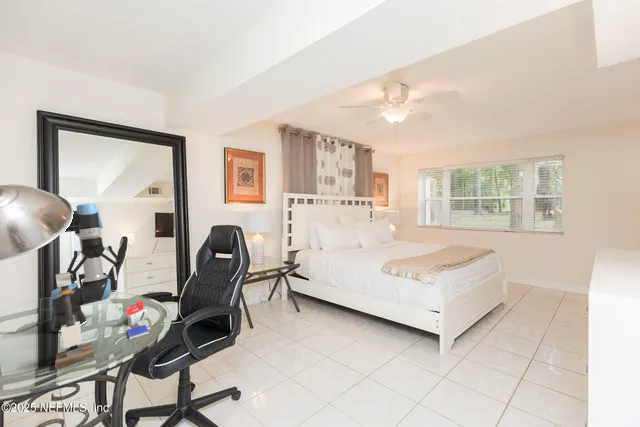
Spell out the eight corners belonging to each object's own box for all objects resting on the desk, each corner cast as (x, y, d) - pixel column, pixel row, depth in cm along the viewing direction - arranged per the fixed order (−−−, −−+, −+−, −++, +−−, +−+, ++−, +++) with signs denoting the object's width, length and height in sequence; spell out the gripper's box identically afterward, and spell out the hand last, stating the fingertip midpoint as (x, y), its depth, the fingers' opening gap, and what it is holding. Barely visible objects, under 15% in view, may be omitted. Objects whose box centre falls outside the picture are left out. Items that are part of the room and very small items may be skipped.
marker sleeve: (64, 344, 125) (61, 326, 125) (82, 339, 129) (79, 321, 129) (63, 348, 121) (60, 329, 121) (82, 343, 125) (79, 324, 124)
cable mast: (57, 358, 127) (44, 275, 125) (92, 346, 134) (80, 268, 133) (55, 369, 116) (41, 279, 115) (93, 357, 124) (81, 272, 122)
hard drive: (148, 331, 143) (145, 324, 153) (129, 337, 139) (127, 329, 148) (149, 334, 144) (146, 327, 153) (129, 340, 139) (127, 332, 149)
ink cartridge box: (148, 317, 168) (145, 300, 167) (132, 325, 157) (129, 307, 156) (144, 317, 168) (142, 300, 168) (128, 325, 157) (125, 307, 157)
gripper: (54, 242, 124) (62, 292, 125) (124, 233, 140) (131, 277, 141) (55, 242, 130) (62, 289, 131) (122, 233, 146) (128, 275, 147)
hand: (98, 283), depth 136 cm, fingers open, 13 cm apart
